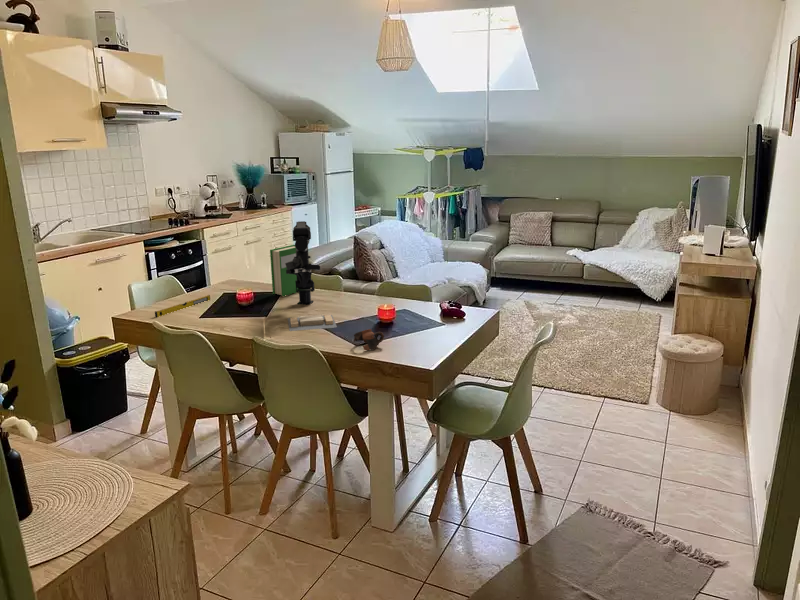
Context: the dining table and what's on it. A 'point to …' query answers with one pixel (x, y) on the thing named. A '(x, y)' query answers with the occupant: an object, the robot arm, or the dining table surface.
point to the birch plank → (311, 320)
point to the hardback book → (282, 270)
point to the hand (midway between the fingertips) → (303, 287)
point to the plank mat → (295, 325)
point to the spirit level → (181, 306)
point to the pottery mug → (369, 338)
